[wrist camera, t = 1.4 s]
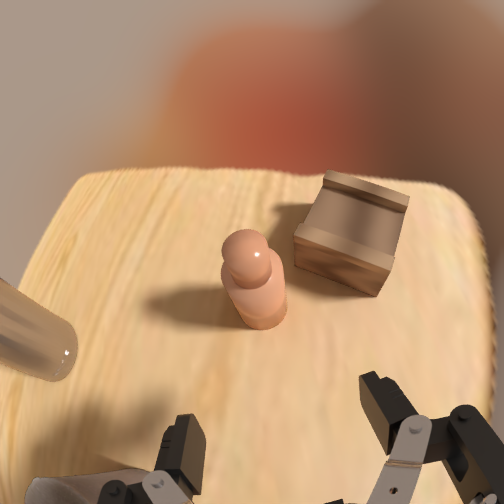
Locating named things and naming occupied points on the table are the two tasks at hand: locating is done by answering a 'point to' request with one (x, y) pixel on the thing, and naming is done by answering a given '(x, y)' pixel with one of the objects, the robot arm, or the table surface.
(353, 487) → the table surface
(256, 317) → the peg doll
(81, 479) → the pillar candle
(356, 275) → the pedestal
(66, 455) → the table surface
